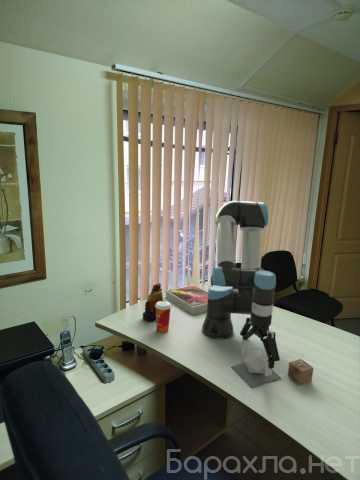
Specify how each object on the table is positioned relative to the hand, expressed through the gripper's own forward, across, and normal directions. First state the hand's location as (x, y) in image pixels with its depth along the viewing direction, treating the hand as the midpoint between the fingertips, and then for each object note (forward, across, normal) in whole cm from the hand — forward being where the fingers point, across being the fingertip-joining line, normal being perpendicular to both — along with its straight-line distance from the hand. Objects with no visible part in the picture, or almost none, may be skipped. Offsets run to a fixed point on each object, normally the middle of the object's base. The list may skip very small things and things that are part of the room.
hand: (256, 364), depth 114 cm
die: (+3, 0, 0) cm, 3 cm away
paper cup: (+4, -43, -22) cm, 48 cm away
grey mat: (+4, 0, 0) cm, 4 cm away
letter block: (+4, +9, +14) cm, 17 cm away
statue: (+4, -57, -23) cm, 62 cm away
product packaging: (+4, -69, +8) cm, 70 cm away
